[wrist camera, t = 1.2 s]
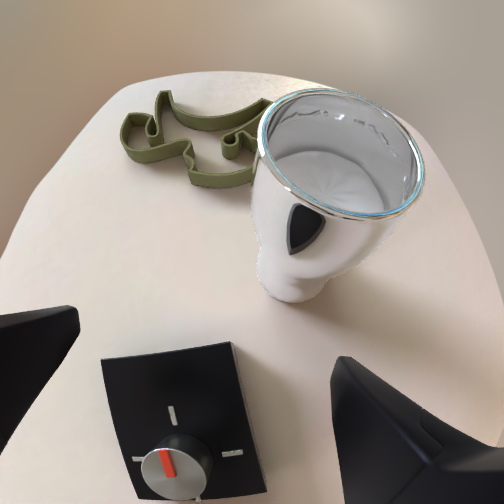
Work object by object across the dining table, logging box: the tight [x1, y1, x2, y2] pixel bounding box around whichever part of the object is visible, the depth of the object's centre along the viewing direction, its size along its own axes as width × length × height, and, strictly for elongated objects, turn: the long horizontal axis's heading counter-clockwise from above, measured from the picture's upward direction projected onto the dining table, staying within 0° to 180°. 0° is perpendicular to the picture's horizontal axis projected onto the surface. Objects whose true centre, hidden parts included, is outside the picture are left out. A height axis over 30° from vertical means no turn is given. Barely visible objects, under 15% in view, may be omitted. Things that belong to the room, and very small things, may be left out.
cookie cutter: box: [120, 90, 274, 188], centre depth 27 cm, size 18×12×2 cm, turn 76°
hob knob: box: [141, 434, 213, 501], centre depth 13 cm, size 4×4×4 cm
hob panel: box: [101, 341, 267, 502], centre depth 17 cm, size 12×10×3 cm
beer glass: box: [251, 88, 425, 303], centre depth 16 cm, size 7×7×15 cm
